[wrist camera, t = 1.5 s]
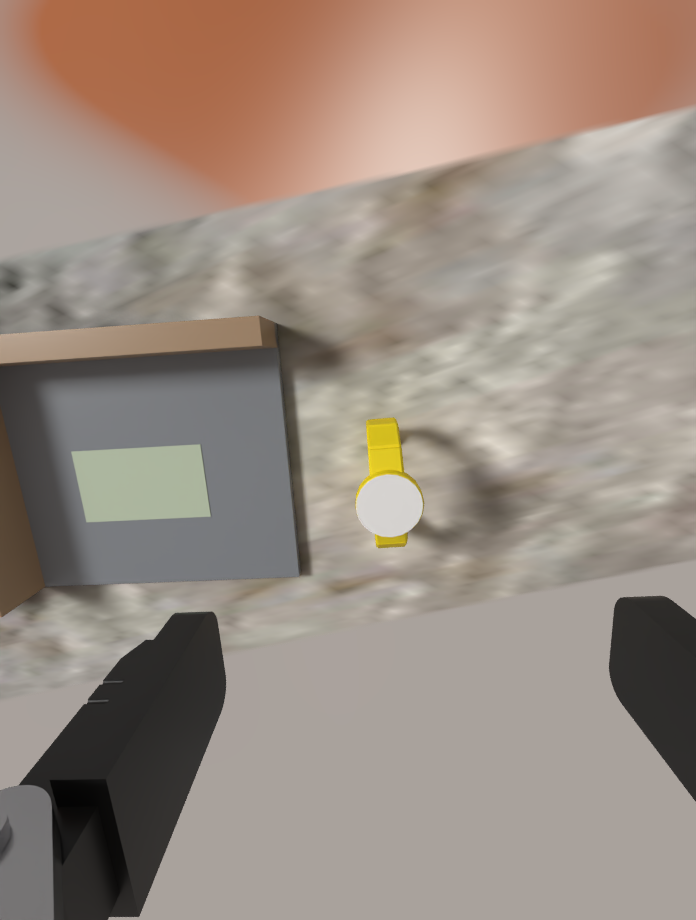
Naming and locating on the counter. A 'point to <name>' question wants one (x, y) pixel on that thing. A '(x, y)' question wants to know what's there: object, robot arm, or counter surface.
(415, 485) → the watch
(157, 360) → the corner tray
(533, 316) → the counter surface
